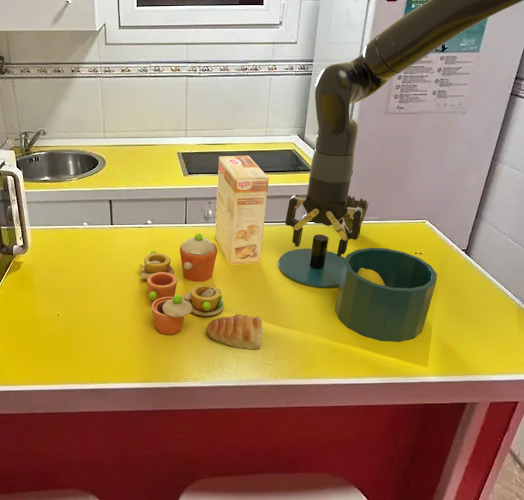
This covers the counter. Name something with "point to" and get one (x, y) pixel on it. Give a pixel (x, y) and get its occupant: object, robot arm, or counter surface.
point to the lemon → (370, 276)
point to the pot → (385, 294)
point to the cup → (354, 204)
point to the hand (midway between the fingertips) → (318, 249)
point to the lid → (313, 265)
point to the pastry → (237, 331)
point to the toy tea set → (164, 284)
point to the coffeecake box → (240, 209)
